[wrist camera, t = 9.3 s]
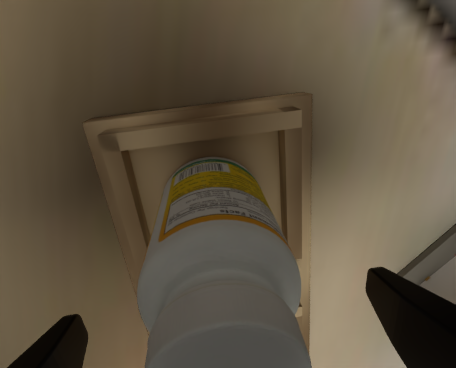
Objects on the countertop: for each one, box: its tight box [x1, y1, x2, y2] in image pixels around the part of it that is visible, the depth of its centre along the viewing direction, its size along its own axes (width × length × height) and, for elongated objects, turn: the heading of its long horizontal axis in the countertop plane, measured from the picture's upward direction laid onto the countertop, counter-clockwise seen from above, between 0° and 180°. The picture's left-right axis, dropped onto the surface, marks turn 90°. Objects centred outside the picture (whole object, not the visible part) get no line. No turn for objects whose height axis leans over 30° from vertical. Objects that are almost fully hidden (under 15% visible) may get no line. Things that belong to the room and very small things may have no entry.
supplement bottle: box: [137, 157, 312, 368], centre depth 11 cm, size 5×5×10 cm
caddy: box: [82, 92, 312, 353], centre depth 18 cm, size 11×22×2 cm, turn 6°
